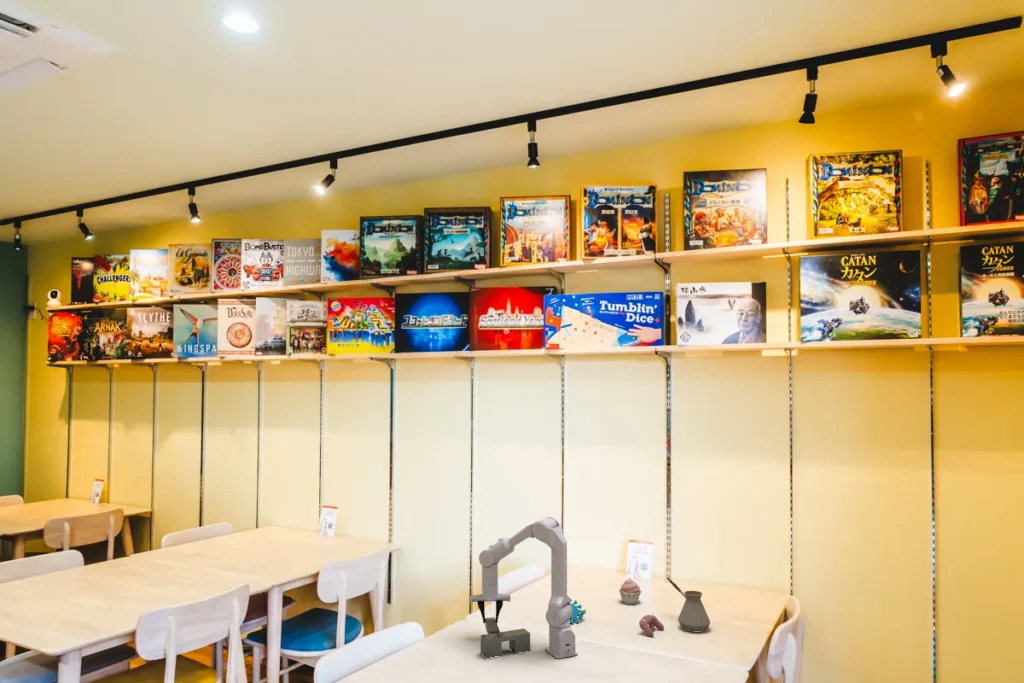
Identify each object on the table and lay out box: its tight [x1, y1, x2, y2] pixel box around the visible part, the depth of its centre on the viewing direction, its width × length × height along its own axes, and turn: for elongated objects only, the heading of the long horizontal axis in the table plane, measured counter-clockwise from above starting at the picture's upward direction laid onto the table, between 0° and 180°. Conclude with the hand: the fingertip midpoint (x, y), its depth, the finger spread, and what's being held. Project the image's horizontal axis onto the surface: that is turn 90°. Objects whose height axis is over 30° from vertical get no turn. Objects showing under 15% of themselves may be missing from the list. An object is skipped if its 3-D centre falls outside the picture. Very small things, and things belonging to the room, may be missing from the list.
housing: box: [480, 628, 531, 659], centre depth 230 cm, size 5×16×6 cm, turn 113°
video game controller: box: [638, 614, 665, 638], centre depth 248 cm, size 10×5×7 cm, turn 141°
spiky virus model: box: [570, 598, 587, 625], centre depth 262 cm, size 11×6×10 cm
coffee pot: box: [664, 576, 711, 632], centre depth 256 cm, size 21×12×15 cm, turn 25°
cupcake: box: [618, 577, 642, 606], centre depth 282 cm, size 9×9×10 cm
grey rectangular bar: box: [484, 616, 501, 634], centre depth 238 cm, size 11×3×3 cm, turn 11°
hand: (490, 622), depth 243 cm, fingers closed on grey rectangular bar, 4 cm apart
